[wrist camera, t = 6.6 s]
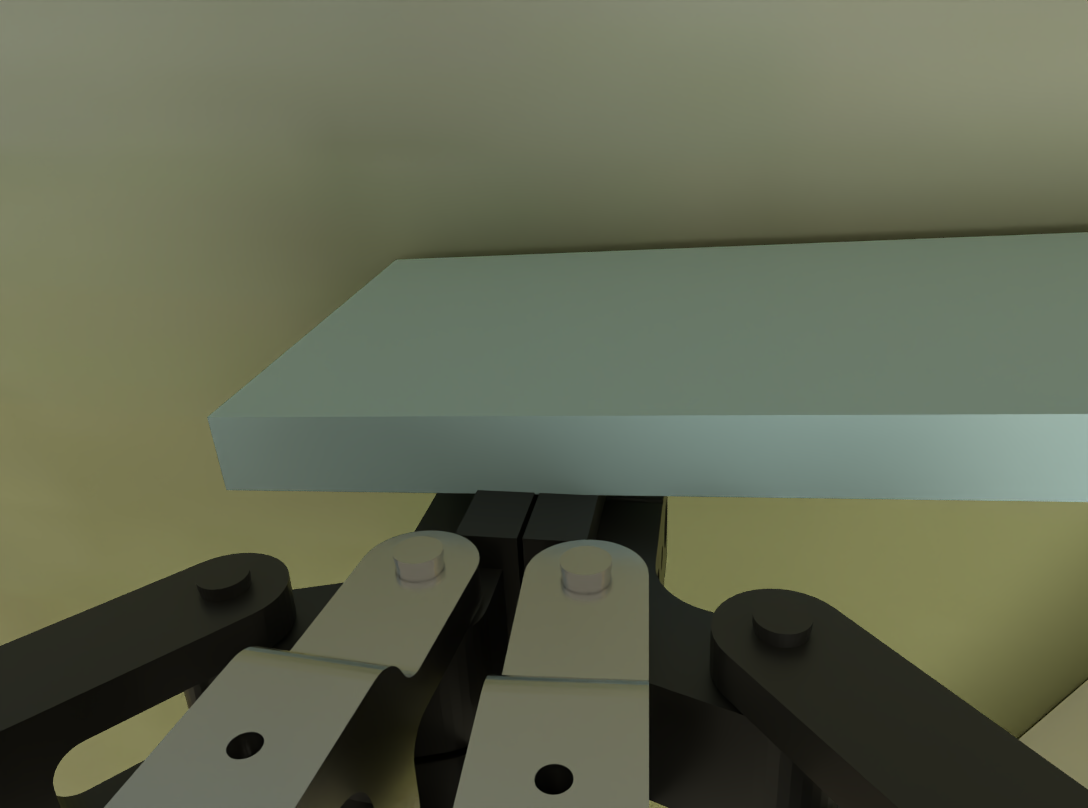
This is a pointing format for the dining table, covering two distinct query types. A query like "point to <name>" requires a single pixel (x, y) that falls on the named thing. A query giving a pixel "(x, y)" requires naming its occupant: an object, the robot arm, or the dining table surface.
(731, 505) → the dining table surface
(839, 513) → the dining table surface
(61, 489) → the dining table surface
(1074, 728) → the camera housing
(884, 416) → the door
